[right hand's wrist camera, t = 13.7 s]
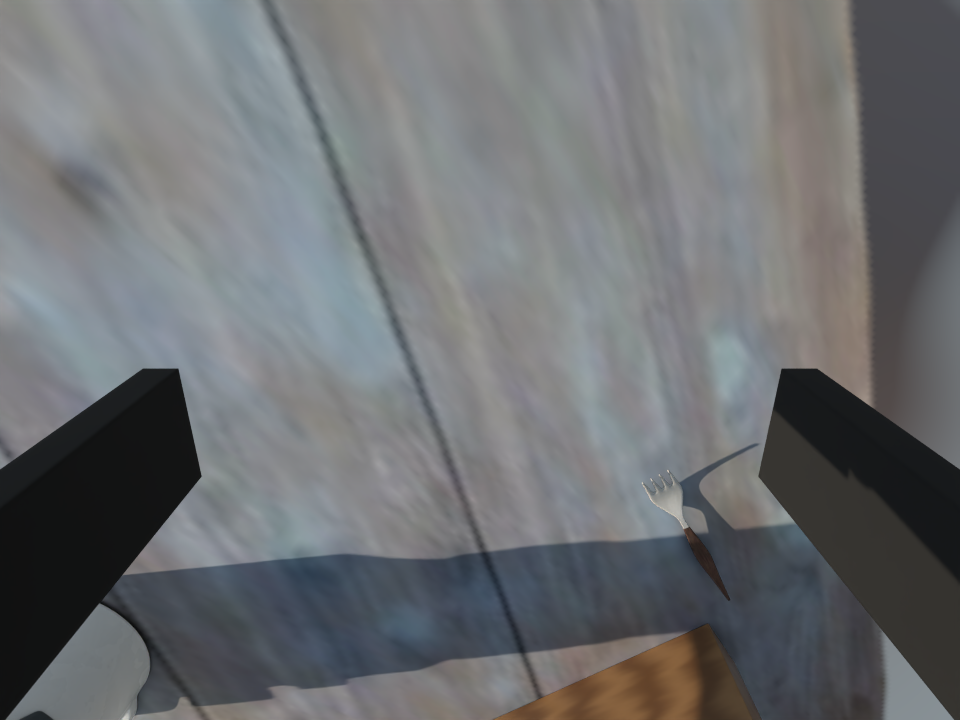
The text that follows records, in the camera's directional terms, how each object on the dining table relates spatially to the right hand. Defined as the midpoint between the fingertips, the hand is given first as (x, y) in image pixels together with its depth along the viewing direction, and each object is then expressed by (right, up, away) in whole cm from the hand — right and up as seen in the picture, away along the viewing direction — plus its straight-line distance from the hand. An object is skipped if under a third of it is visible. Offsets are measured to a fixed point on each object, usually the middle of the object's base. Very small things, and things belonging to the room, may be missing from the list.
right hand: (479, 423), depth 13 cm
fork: (+17, -13, +35) cm, 41 cm away
